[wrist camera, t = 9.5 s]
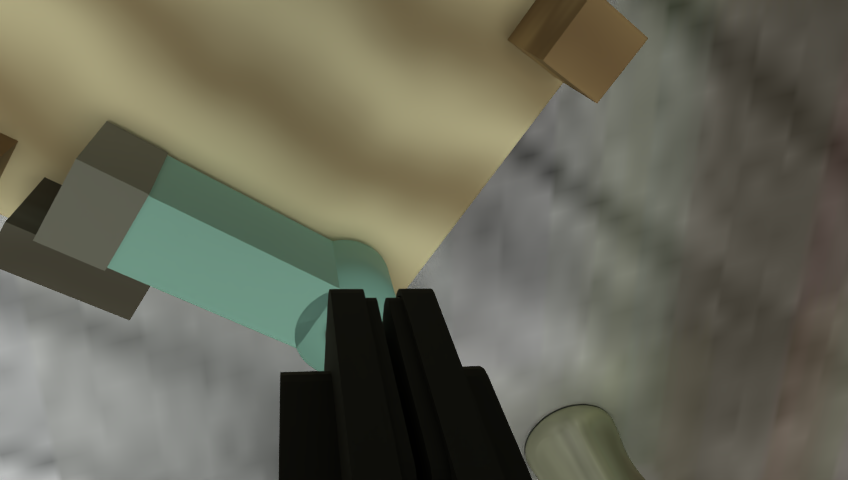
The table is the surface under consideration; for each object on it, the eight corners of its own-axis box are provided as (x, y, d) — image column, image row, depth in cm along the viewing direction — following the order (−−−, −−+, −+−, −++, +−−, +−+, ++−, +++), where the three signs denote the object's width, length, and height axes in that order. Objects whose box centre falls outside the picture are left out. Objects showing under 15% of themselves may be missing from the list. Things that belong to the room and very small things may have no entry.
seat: (148, -376, 19) (99, -480, 14) (591, 11, 28) (662, 35, 22) (-82, 149, 25) (-177, 213, 20) (345, 340, 33) (357, 420, 28)
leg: (63, 202, 25) (21, 259, 21) (112, 109, 23) (78, 151, 19) (355, 335, 30) (366, 400, 26) (407, 266, 29) (427, 323, 25)
